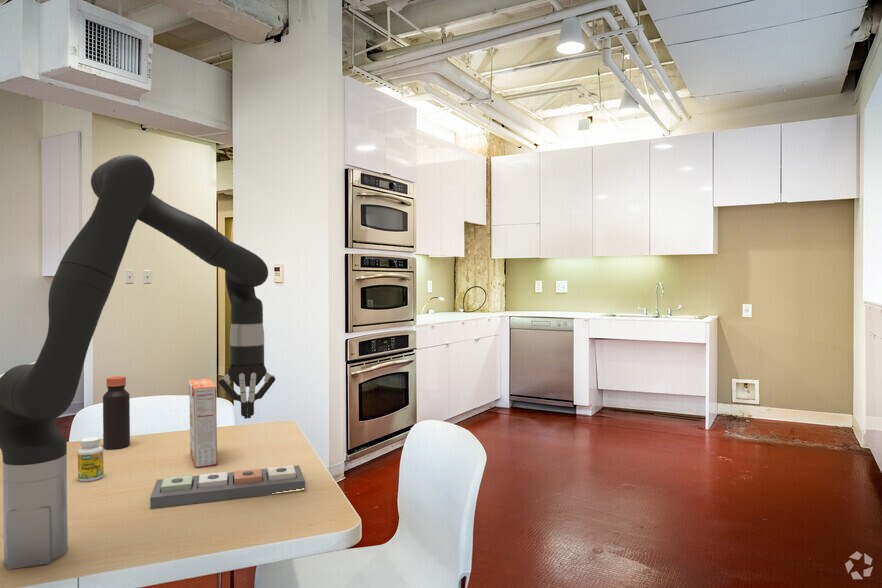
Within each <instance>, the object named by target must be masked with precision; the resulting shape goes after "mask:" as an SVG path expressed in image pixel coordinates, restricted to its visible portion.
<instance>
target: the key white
mask: <svg viewBox="0 0 882 588" xmlns="http://www.w3.org/2000/svg"><path fill="white" fill-rule="evenodd" d="M227 473H228V471H223V472H212V473H204V474H202V473H201V474H199V475H198V476H199V482H198V488H207V487H216V486H225V485H227Z"/></svg>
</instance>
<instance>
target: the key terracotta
mask: <svg viewBox="0 0 882 588" xmlns="http://www.w3.org/2000/svg"><path fill="white" fill-rule="evenodd" d="M261 469H262V468H253V469H252V468H251V469H244V470H243V469H241V470H234V471H233V472H234V485H235V484H244V483H253V482H262V473H261Z"/></svg>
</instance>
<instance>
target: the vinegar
mask: <svg viewBox="0 0 882 588" xmlns="http://www.w3.org/2000/svg"><path fill="white" fill-rule="evenodd" d="M126 381H127V378H126V376H123V375H122V376H110V377H106V388H107V391H106V392H105V393H104V394H103V396H102V428H103V429H102V432H103V434H102V440H103V445H102V448H103V449H106V450H119V449H125V448H127V447H129V446H130V445H131V420H130V419H131V417H130V411H131V407H130V406H131V403H130V402H131V401H130V399H131V398H130V393H129V392H128V391H127V390H126V389H125V387H126V386H127V382H126Z"/></svg>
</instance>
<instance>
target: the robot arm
mask: <svg viewBox="0 0 882 588" xmlns="http://www.w3.org/2000/svg"><path fill="white" fill-rule="evenodd" d="M153 171H154V170H153V169H152V166H151V165H150V164H149V163H148V162H147V161H146V159H144V158H143V157H141V156H138V155H135V154H123V155H118V156H114V157H113V158H111V159H109V160H108V161H106V162H103V163H102V164H100V165H99V166H97V168H95V169H94V170H93V172H92V174H91V176H90V186H91V189H92V191H93V193H94V194H95V196H96V197H97V198H98V199H97V202H96V204H95V207H94V209H93V211H92V213H91V216H90V217H89V219H88V220H87V222H86V223H85V224H84V225H83V227H82V228H81V229H80V230H79V232H78V233H77V234H76V236H75V238H73V241H72V242H71V243H70V245H69V246H68V248H66V249H67V250H66V251H65V252H64V254H63V257H62V258H61V260H60V262H59V264H58V267H57V269H56V271H55V274H54V276H53V279H52V281H51V283H50V288H49V292H48V330H47V333H46V338H45V340H44V343H43V345H42V348H41V350H40V353H39V355H38V356H37V359H36V360H35V363H34V364H33V363H31V364H29V363H27V364H19V365H17V366H13V367H11V368H10V369H9V370H6V371H5V372H4V373H3V375H1V376H0V451H1V455H2V513H3V514H2V518H3V519H2V520H3V521H2V523H3V524H2V528H3V530H2V531H3V532H2V534H3V564H4V565H6V569H7V570H14V569H18V568H25V567H26V568H28V567H33V566H34V567H35V566H40V565H41V566H42V565H47V564H50V563H51V562H52V561H53V560H56V559H57V558H59V557H61V556H63V555H64V554H66V552H67V551H68V548H69V547H68V546H69V544H68V543H69V542H68V540H69V539H68V537H69V535H68V534H69V533H68V529H69V527H68V525H69V524H68V452H67V451H68V450H67V449H68V445H67V443H68V442H67V439H66V437H65V435H63V434H62V433H61V432H60V430H59V428H58V427H57V425H56V422H55V419H57V418H59V417H60V416H62V415H63V414H65V412H66V411H67V410H68V409H69V408H70V406H71V405H72V404H73V403H72V402H73V401H74V399H75V396H76V393H77V390H78V387H79V385H80V384H79V383H80V379H81V377H82V373H83V368H84V364H85V361H86V357H87V353H88V350H89V346H90V345H91V342H92V338H93V337H94V334H95V331H96V329H97V328H96V327H97V326H98V323H99V319H100V318H101V315H102V312H103V309H104V307H105V305H106V303H107V301H108V299H109V295H110V293H111V291H112V288H113V286H114V283H115V280H116V277H117V275H118V271H119V269H120V266H121V264H122V261H123V259H124V255H125V253H126V249H127V247H128V244H129V241H130V237H131V235H132V232H133V230H134V227H135V225H136V224H137V221H140V222H142V223H144V224H146V225H147V226H149V227H150V228H152V229H154V230H156V231H158V232H159V233H162V234H163V235H164V236H166V237H168V238H170V239H171V240H173V241H174V242H176V243H178V245H180V246H182V247H183V248H185V249H187V251H189V252H191V253H192V254H193V255H195V256H196V257H198V258H199V259H201V260H202V261H203V262H205V263H207V264H208V265H210V266H212V267H214V268H215V267H216V268H220V269H222V270H224V271H225V274H224V275H225V276H224V277H225V278H224V279H225V285H226V291H227V295H228V298H229V303H230V330H229V331H230V332H229V368H228V370H227V374H226V375H224V376H223V377H220V378H219V379H218V384H219V385H220V386H221V388H223V390H224V391H225V392H226V393H227V394H228V395H229V397H230V398H231V399H232V400H233V401H237V402H240V415H241V416H242V417H243V419H244V420H246V419H251V418H252V417H253V416H254V415H255V401H257V400H260V399H263V397H264V396H265V395H266V393H267V392H268V390H269V389H270V388H271V386H272V385H273V384H274V383H275V381H276V376H274V375H272V374H270V373H269V372H268V370H267V368H266V366H265V330H264V306H263V305H264V304H263V302H262V300H261V299H259V298H258V297H257V295H256V290H255V287H256V288H257V287H260V286H262V285H263V284H264V283H265V282H266V281H267V279H268V276H269V268H268V266H267V264H266V263H265V261H264V259H262V258H261V257H260V256H259V255H257V254H256V253H254V252H252V251H251V250H249V249H247V248H245V247H243V246H241V245H239V244H237V243H235V242H233V241H231V240H230V239H229V238H228V237H226V236H225V235H224V234H223V233H221V232H220V231H219V230H217V229H216V228H215V227H213V226H212V225H210V223H207V222H205V220H202V219H200V218H198V217H196V216H194V215H192V214H190V213H188V212H185V211H183V210H181V209H179V208H176V207H174V206H173V205H170V204H169V203H167V202H165V201H164V200H162V199H161V198H160V197H158V196H157V195H155V194H154V193H153V191H154V188H155V174H154V172H153ZM263 378H264V379H263ZM231 380H232V381H233V383H234V384H235V385H236V386H237V387H238V388H239V392H240V394H238V393H237V392H236V391H235V389H234V388H233V387H232V386H231ZM262 380H263V381H264V383H263V385H262V386H261V387H260V388H259V390H258V391H257V392H256V386H258V385H259V384H260V383H261V381H262ZM247 387H248V398H247ZM247 399H248V400H247Z"/></svg>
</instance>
